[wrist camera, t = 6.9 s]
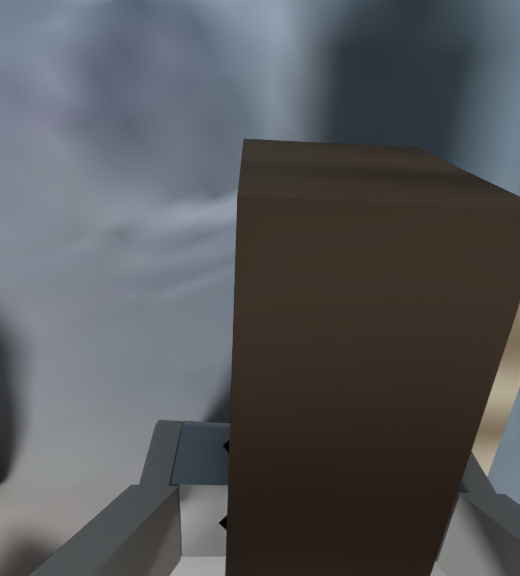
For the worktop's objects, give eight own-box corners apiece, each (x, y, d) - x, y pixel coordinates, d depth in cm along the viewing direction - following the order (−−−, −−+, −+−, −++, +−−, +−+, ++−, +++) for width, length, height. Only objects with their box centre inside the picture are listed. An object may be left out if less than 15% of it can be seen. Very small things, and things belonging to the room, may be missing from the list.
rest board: (344, 245, 25) (347, 250, 25) (555, 257, 26) (564, 262, 25) (302, 524, 34) (304, 534, 34) (460, 528, 35) (464, 538, 34)
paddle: (96, 130, 8) (-36, 181, 4) (556, 155, 8) (799, 222, 5) (147, 677, 15) (114, 869, 11) (389, 679, 15) (432, 867, 12)
